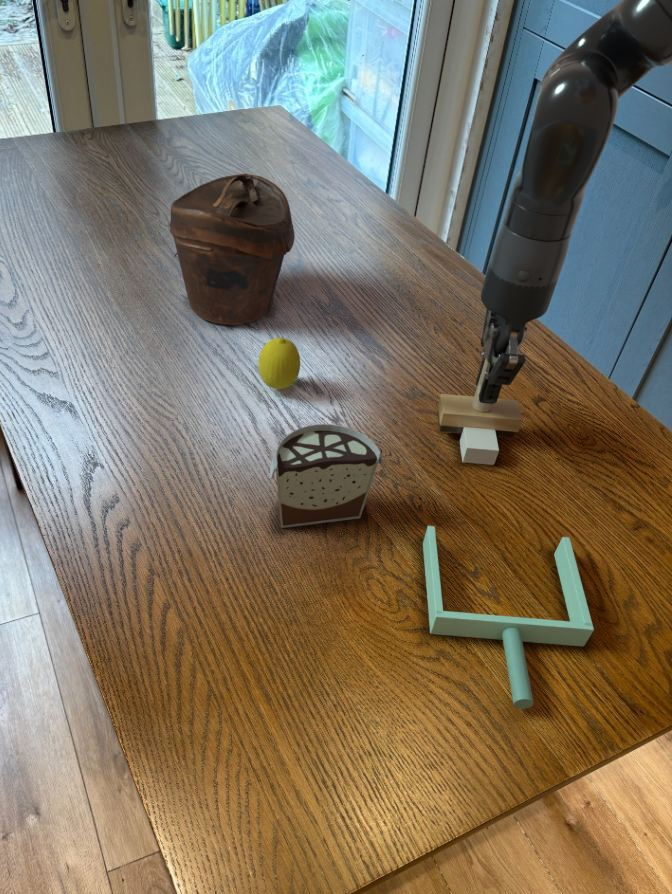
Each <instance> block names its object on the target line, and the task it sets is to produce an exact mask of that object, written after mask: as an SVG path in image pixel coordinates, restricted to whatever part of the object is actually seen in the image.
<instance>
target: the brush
mask: <svg viewBox="0 0 672 894" xmlns="http://www.w3.org/2000/svg"><path fill="white" fill-rule="evenodd" d="M487 364H488V361H487V358H486V359H485V362H484V365H483V369H482V372H481V375H480V379H479V382H478V386H476V389H475V392H474V396H473V395H472V396H471V395H461V394H459V395H458V394H449V393H448V394H447V393H440V396H439V399H438V404H437V410H438V411H437V420H438V421H437V422H438V431H439V432H440V433H452V434H462V432H463V428H464V427H471V428H482V429H494V430H495V432H496V437H498V438H510V439H515V437H516V434H517V433H519V432H520V429H521V427H522V423H523V414H522V410H521V406H520V402H519V400H517V399H509V398H508V399H507V398H498V400H497V402H496V403H494V404H489V403H481V402H480V401H479V397H478V396H479V393H480V390H481V386H482V383H483V380H484V376H485V371H486V368H487ZM495 364H496V363H495ZM495 364H494V365H495Z"/></svg>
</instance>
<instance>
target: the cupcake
mask: <svg viewBox="0 0 672 894" xmlns="http://www.w3.org/2000/svg"><path fill="white" fill-rule="evenodd" d="M378 465H379V466H380V467H384V462H383V456H382V452H381V450H380V449H379V447H378V446H377V445H376V444H375V442H374V441H373V440H371V439H370V437H368V436H366V435H364V434H363V433H362V432H360V431H357V430H355V429H353V428H351V427H347V426H344V425H338V424H331V423H317V424H316V423H315V424H310V425H306V426H301V427H300V428H296V429H294V430H293V431H292V432H290V433H287V435H286V436H285V437H283V439H282V440H281V441H280V442H279V444H278V445H277V447H276V448H275V451H274V453H273V456H272V459H271V462H270V466H269V476H270V479H271V480H274V479H273V478H274V475H276V477H275V478H276V488H277V501H278V515H279V525H280V528H281V529H285V528H292V527H293V528H294V527H299V526H300V527H301V526H310V525H317V524H323V523H325V524H326V523H333V522H341V521H342V522H343V521H349V520H357V519H361V517H362V514H363V511H364V508H365V505H366V502H367V498H368V496H369V492H370V489H371V487H372V484H373V481H374V477H375V475H376V471H377V468H378Z"/></svg>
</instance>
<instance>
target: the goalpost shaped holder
mask: <svg viewBox="0 0 672 894" xmlns="http://www.w3.org/2000/svg"><path fill="white" fill-rule="evenodd" d="M422 550H423V551H422V552H423V562H424V574H425V587H426V598H427V610H428V622H429V633H430V635H439V636H440V635H441V636H452V637H464V638H476V639H489V640H499V641H500V640H501V641H502V645H503V649H504V650H503V651H504V655H505V662H506V668H507V674H508V681H509V686H510V692H511V698H512V705H513V707H514V708H516V709H519V710H520V709H521V710H525V709H529V708H531V707H532V706H533V705H534V698H533V692H532V687H531V681H530V676H529V671H528V665H527V660H526V659H527V658H526V655H525V649H524V643H523V642H525V643H536V644H548V645H561V646H572V647H573V646H574V647H585V645H586V644H587V642H588V641H589V639H590V637H591V635H592V634H593V632H594V631H595V628H594V625H593V621H592V617H591V614H590V610H589V606H588V602H587V598H586V595H585V591H584V588H583V583H582V580H581V576H580V571H579V568H578V564H577V560H576V557H575V553H574V549H573V545H572V542H571V538H570V537H569V536H562V537H561V539H560V541H559V544H558V545H557V547H556V549H555V551H554V555H553V556H554V560H555V564H556V568H557V573H558V577H559V580H560V586H561V590H562V592H563V593H562V594H563V597H564V601H565V606H566V610H567V614H568V619H569V621H568V620H556V619H545V618H544V619H543V618H533V617H521V616H509V615H497V614H496V615H495V614H485V613H484V614H483V613H471V612H461V611H460V612H459V611H448V610H444V604H443V595H442V585H441V583H442V582H441V574H440V573H441V572H440V565H439V555H438V545H437V534H436V526H434V525H427V528H426V531H425V535H424V538H423V541H422Z"/></svg>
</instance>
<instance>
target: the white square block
mask: <svg viewBox="0 0 672 894" xmlns="http://www.w3.org/2000/svg"><path fill="white" fill-rule="evenodd" d="M498 443H499V442H498V438H497V436H496V432H495V430H494V429H482V428H471V427H464V428H463V432H462V433H461V435H460V439H459V448H460V454H461V460H462V461H461V462H462V463H465V464H466V463H467V464H478V465H489V466H490V465H491V466H494V465H495V463H496V461H497V458H498V456H499V451H500V449H499V444H498Z"/></svg>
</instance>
